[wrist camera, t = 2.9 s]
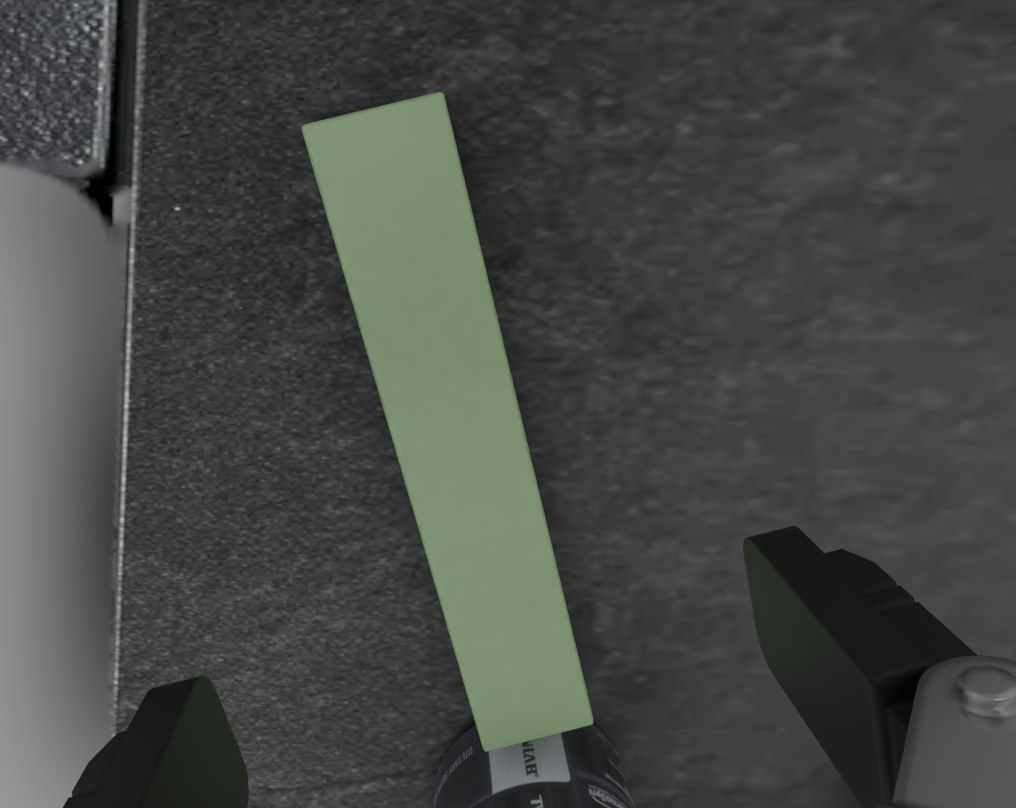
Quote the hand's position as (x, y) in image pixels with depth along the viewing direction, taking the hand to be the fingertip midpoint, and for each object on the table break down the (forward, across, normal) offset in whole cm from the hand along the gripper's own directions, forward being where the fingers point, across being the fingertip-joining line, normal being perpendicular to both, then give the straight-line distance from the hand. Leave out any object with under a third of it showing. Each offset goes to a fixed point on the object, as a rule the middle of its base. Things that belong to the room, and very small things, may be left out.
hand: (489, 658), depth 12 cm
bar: (+11, 0, 0) cm, 11 cm away
